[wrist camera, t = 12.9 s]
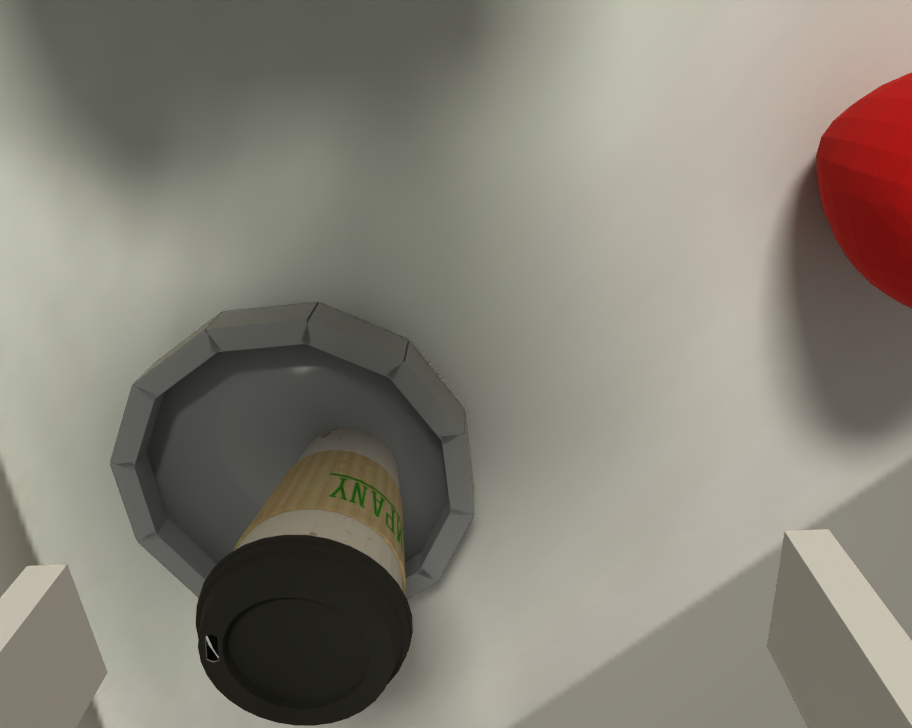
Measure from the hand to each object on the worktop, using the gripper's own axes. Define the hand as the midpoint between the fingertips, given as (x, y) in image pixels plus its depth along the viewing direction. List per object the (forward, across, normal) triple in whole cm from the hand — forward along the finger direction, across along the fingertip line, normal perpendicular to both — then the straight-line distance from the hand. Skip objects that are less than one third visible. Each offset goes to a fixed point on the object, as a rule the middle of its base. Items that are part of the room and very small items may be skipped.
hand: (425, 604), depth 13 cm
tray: (+28, -11, -14) cm, 34 cm away
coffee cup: (+28, -7, -14) cm, 32 cm away
